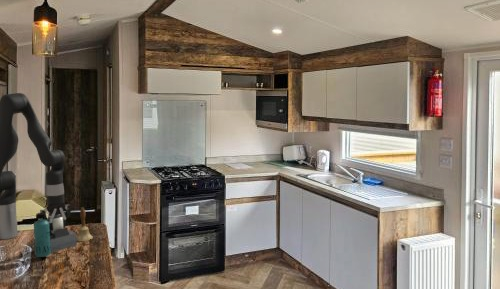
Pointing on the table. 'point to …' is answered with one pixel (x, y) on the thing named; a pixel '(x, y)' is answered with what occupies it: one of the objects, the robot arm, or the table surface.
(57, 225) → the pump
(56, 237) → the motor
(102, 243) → the table surface
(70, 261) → the table surface
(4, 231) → the robot arm
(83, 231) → the hand bell
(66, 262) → the table surface
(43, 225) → the beverage bottle
